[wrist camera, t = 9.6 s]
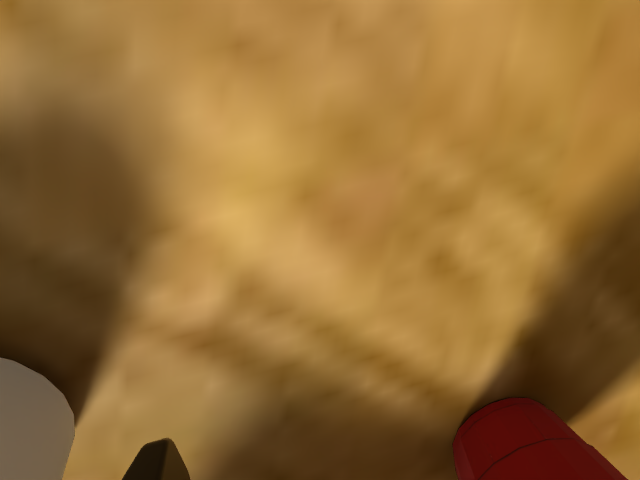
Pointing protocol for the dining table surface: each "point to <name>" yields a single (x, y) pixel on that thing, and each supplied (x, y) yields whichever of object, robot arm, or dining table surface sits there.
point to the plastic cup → (525, 446)
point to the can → (32, 425)
